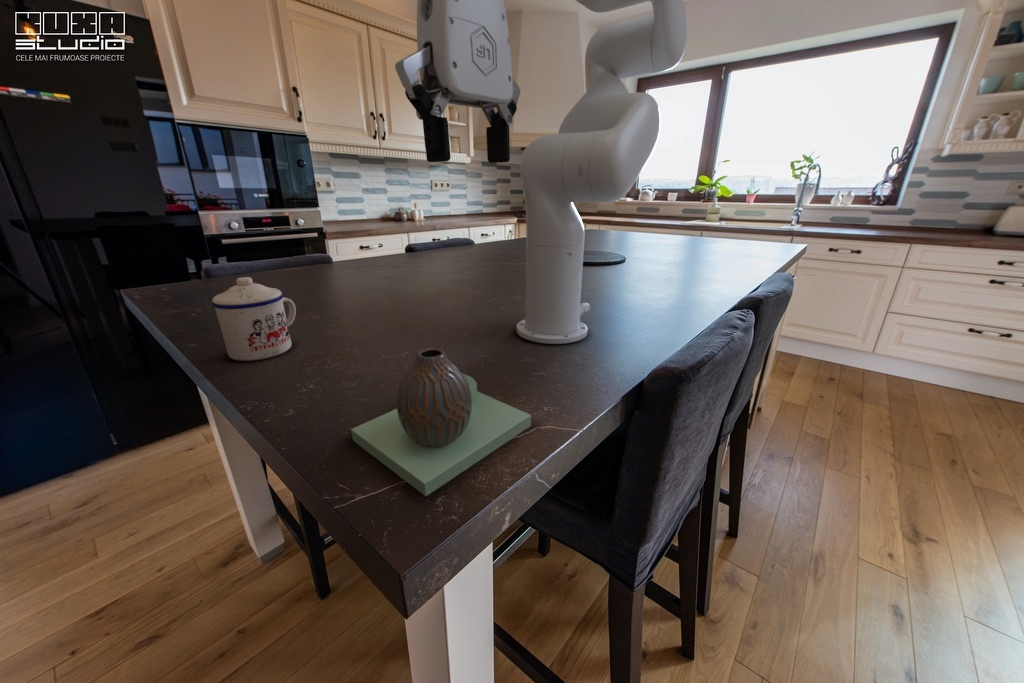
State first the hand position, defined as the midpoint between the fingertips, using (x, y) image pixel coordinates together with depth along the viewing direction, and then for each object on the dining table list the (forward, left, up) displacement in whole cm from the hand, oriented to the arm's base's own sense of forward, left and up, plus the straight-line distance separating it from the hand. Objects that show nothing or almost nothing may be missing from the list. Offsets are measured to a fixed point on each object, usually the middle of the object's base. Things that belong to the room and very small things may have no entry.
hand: (470, 161), depth 46 cm
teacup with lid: (+16, -32, -27) cm, 45 cm away
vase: (+15, +10, -26) cm, 31 cm away
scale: (+13, +8, -27) cm, 31 cm away
